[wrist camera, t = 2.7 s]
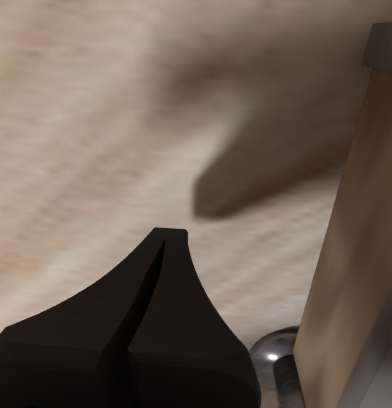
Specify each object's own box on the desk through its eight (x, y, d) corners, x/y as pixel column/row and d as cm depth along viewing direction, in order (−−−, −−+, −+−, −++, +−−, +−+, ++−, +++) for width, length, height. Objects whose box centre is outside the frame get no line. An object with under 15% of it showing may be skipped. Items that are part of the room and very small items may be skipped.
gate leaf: (315, 346, 17) (361, 494, 11) (285, 343, 17) (316, 489, 11) (422, 25, 9) (692, 6, 4) (369, 23, 10) (567, 2, 4)
